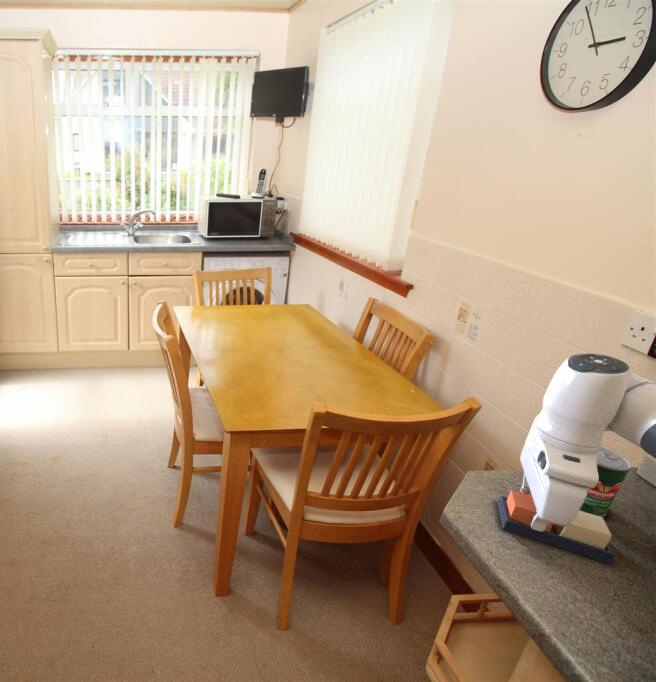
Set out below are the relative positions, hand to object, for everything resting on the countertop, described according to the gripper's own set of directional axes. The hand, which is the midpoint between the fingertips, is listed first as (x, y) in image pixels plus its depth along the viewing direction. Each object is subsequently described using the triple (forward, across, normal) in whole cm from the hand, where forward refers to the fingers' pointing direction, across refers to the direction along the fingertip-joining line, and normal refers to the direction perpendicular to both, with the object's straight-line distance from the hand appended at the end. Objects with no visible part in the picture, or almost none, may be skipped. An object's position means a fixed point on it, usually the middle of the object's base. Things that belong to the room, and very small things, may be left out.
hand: (530, 511), depth 85 cm
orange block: (+2, 0, 0) cm, 3 cm away
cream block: (+2, 0, +7) cm, 8 cm away
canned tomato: (+3, -13, +11) cm, 17 cm away
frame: (+3, 0, +4) cm, 5 cm away
